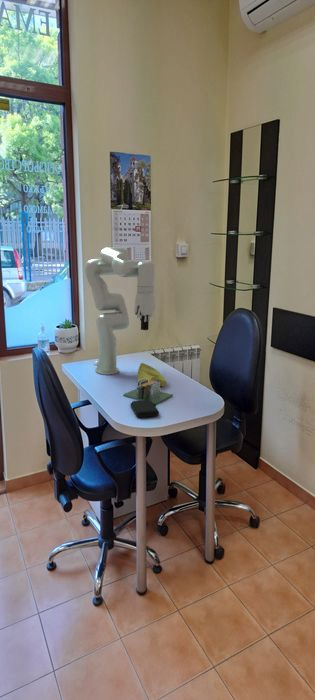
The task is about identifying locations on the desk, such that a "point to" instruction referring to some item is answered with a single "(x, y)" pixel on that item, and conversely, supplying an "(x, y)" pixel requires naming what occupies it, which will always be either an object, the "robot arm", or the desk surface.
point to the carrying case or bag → (144, 409)
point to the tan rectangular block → (146, 385)
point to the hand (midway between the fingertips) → (144, 329)
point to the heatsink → (148, 392)
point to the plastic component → (150, 374)
